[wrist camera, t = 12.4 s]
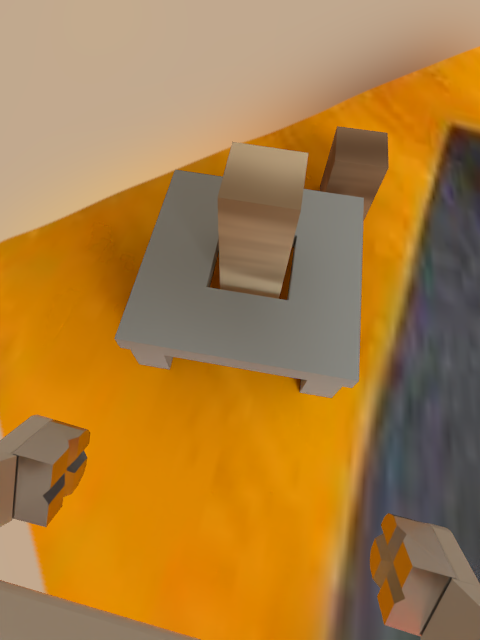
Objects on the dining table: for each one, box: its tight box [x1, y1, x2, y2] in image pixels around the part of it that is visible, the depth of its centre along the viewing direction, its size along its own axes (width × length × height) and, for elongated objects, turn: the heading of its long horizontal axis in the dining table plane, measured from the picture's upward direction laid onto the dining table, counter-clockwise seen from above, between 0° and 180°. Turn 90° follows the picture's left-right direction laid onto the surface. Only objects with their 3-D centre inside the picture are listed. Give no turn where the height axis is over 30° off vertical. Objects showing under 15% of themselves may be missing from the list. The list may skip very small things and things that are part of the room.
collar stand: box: [115, 170, 364, 398], centre depth 24 cm, size 13×13×4 cm
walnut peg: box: [320, 126, 388, 221], centre depth 29 cm, size 4×4×6 cm
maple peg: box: [217, 142, 308, 299], centre depth 22 cm, size 4×4×11 cm
